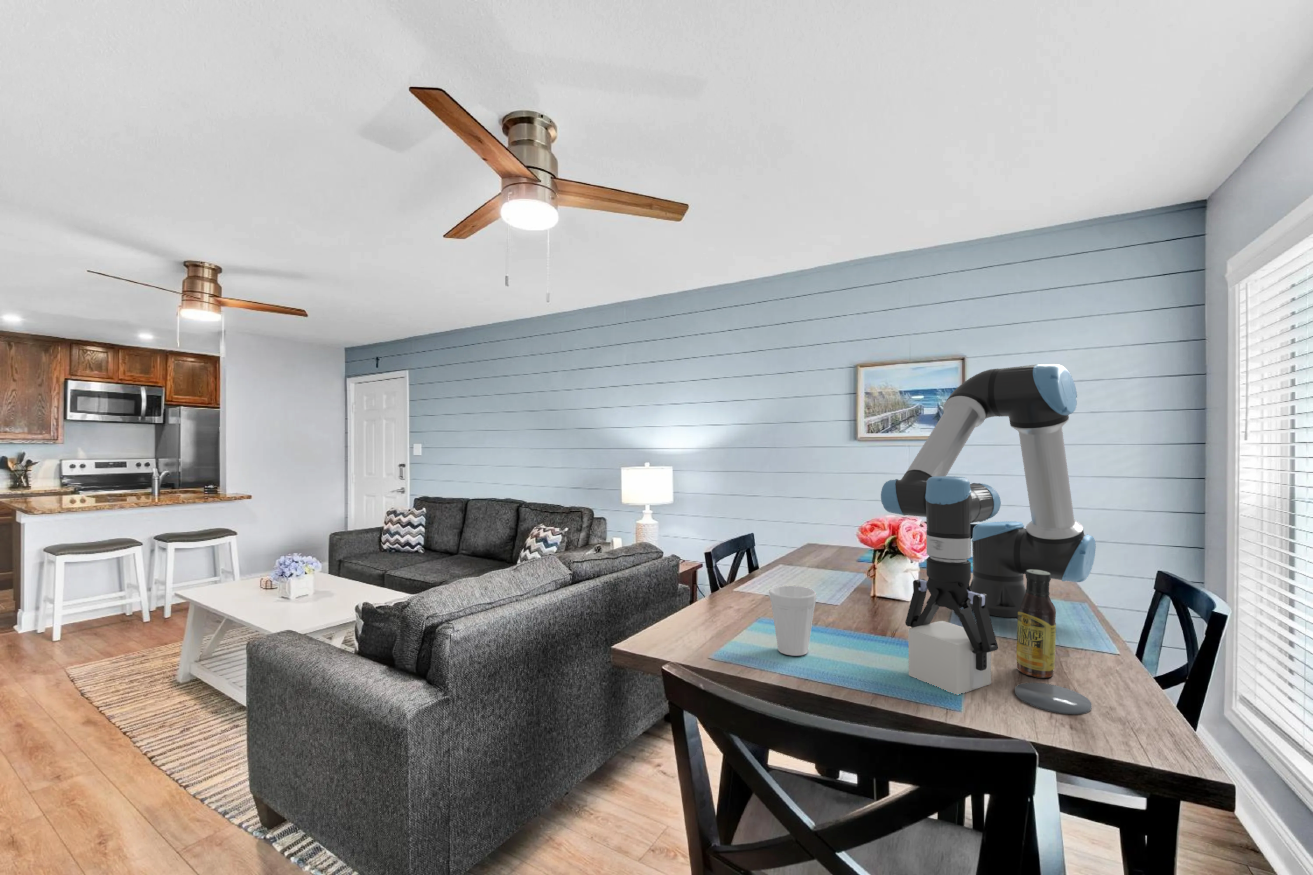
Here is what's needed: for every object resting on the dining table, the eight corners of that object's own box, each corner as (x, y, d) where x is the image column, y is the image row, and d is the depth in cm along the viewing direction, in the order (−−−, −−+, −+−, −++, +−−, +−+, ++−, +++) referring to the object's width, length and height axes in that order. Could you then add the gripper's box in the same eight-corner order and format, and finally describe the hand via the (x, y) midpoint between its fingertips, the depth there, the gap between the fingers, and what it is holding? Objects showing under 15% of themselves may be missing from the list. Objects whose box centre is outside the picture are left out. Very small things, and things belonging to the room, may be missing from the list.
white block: (942, 665, 116) (941, 620, 116) (991, 683, 107) (990, 635, 107) (908, 675, 111) (908, 628, 111) (957, 695, 103) (956, 644, 103)
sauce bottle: (1008, 669, 114) (1008, 568, 114) (1031, 664, 116) (1030, 566, 116) (1041, 682, 108) (1040, 576, 108) (1064, 677, 110) (1063, 573, 110)
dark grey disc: (1036, 681, 108) (1036, 677, 108) (1104, 704, 99) (1104, 701, 99) (1001, 693, 103) (1001, 690, 103) (1069, 720, 93) (1069, 716, 93)
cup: (759, 648, 126) (759, 588, 126) (795, 640, 131) (794, 583, 131) (790, 664, 117) (789, 599, 117) (827, 655, 122) (826, 593, 122)
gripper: (885, 550, 118) (886, 659, 118) (995, 572, 98) (996, 703, 98) (910, 546, 121) (910, 652, 121) (1021, 567, 101) (1022, 694, 101)
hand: (949, 675), depth 109 cm, fingers closed on white block, 10 cm apart
